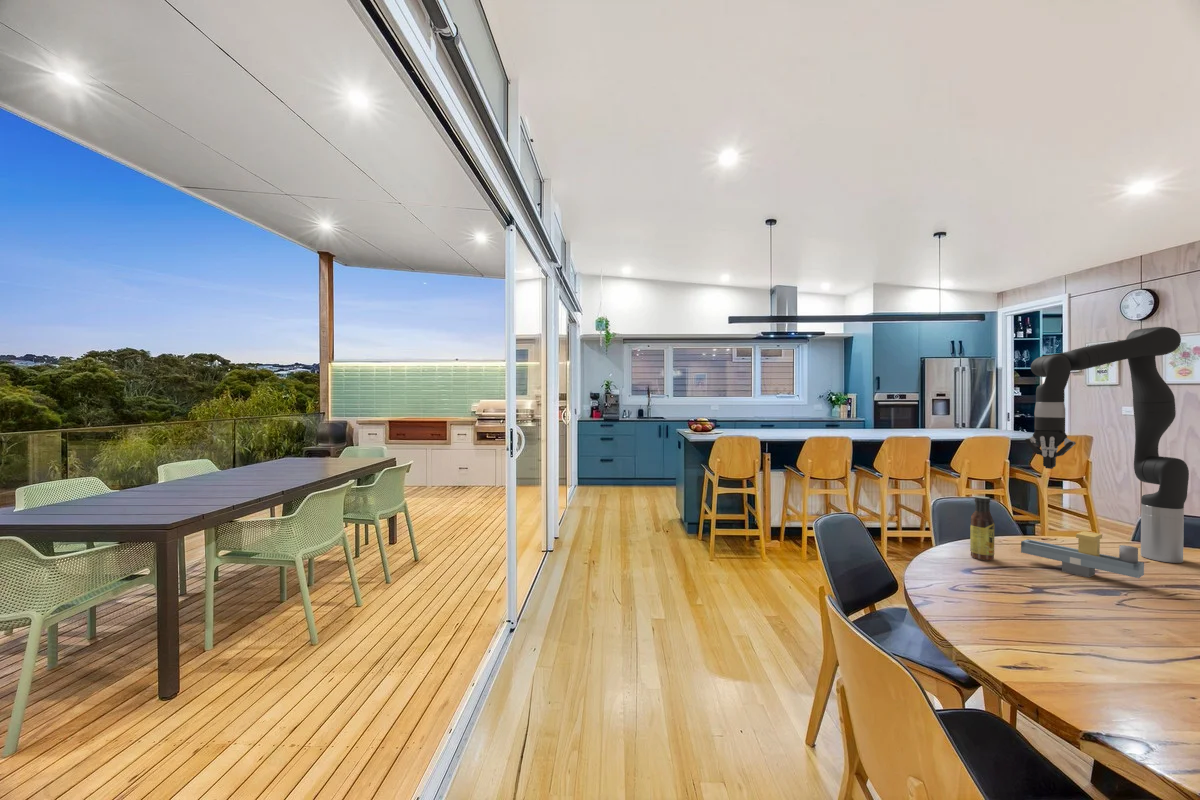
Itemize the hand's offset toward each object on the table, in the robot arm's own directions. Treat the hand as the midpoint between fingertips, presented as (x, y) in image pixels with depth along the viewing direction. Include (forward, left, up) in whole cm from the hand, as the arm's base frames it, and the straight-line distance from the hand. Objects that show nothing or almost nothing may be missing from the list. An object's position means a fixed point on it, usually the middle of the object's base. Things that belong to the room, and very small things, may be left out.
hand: (1049, 468), depth 165 cm
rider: (+13, +13, -24) cm, 30 cm away
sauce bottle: (+22, -10, -29) cm, 38 cm away
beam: (+13, +11, -29) cm, 34 cm away
